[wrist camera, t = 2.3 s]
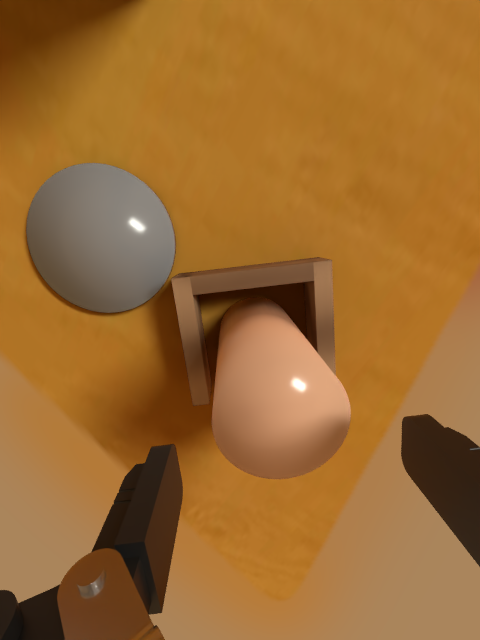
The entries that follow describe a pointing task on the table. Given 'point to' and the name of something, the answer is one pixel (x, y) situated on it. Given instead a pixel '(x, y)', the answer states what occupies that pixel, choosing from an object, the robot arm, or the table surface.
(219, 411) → the peach cylinder with handle
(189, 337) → the wooden u-shaped frame
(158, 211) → the grey dome disc
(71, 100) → the table surface
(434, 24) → the table surface
